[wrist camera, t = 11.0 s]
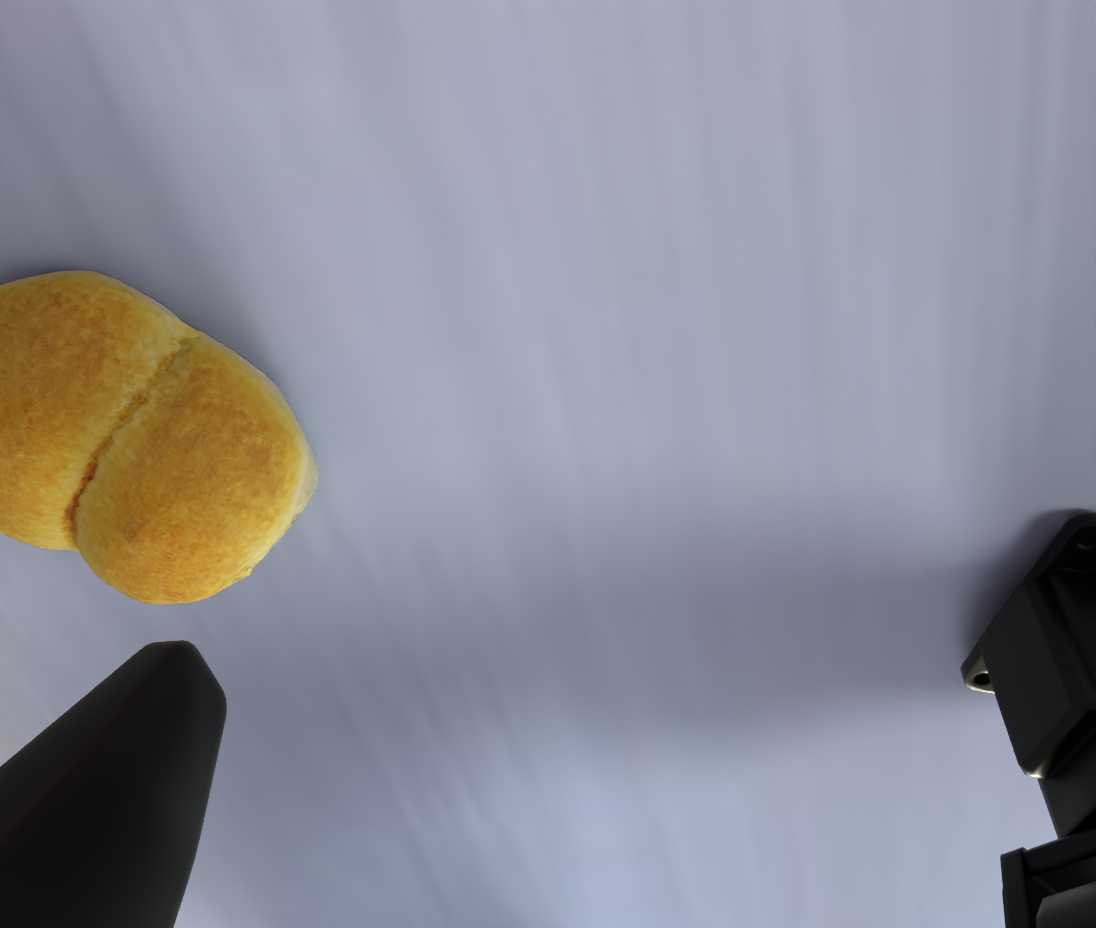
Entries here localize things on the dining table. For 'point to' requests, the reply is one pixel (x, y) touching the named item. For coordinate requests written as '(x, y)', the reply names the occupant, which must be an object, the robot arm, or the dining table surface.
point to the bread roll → (140, 440)
